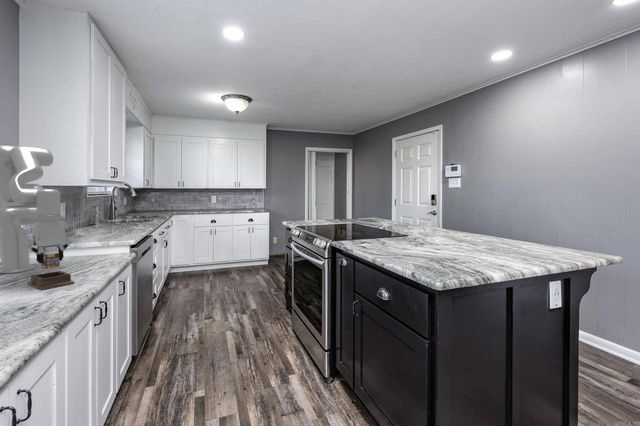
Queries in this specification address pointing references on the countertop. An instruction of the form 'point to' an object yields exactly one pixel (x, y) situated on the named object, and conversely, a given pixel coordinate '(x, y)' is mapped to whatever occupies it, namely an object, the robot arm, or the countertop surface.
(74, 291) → the countertop surface
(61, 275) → the socket board
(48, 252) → the pill bottle
